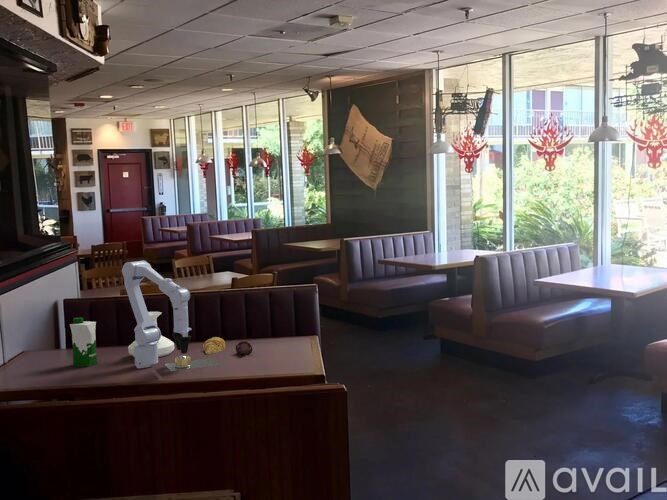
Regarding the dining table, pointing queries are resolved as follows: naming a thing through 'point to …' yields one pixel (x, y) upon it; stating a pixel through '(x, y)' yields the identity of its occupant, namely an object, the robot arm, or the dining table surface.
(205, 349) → the croissant
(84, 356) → the milk carton
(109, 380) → the dining table surface
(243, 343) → the icecream
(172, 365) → the block
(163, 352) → the candle holder
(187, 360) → the ring
